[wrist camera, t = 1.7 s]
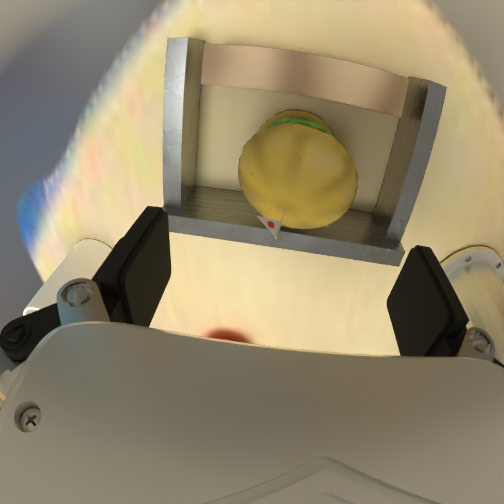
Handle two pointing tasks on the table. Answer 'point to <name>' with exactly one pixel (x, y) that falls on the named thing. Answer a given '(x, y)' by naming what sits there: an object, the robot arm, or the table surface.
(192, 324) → the table surface
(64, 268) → the mug
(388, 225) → the frame
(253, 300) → the table surface
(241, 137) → the table surface
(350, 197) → the burger with flag pick
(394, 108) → the light brown long block
